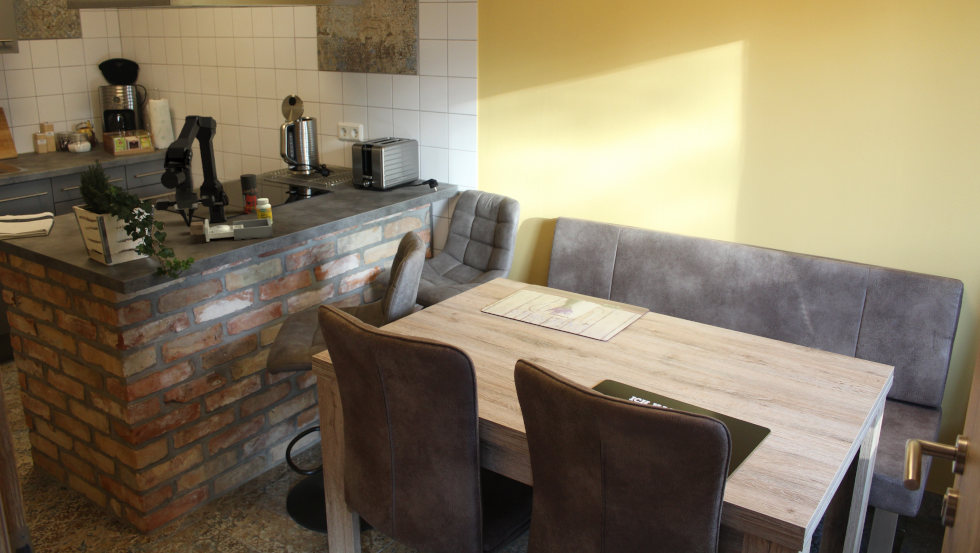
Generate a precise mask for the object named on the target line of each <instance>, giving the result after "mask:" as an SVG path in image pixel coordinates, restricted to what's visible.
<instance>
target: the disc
mask: <svg viewBox="0 0 980 553" xmlns="http://www.w3.org/2000/svg"><path fill="white" fill-rule="evenodd" d="M229 226H230V225H227V224H220V225H219V224H217V225H213V226H211V229H212V233H220V232H230V228H229Z"/></svg>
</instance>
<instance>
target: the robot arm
mask: <svg viewBox="0 0 980 553" xmlns="http://www.w3.org/2000/svg"><path fill="white" fill-rule="evenodd" d="M217 125H218V124H217V121H216V119H214V118H213V117H212V116H201V115H199V114H196V115H195V114H194V115H193V114H192V115H191V114H190V115H186V116H185V118H184V124H183V126H182V128H181V130H180V132H179V134H178V137H177V138H176V140H174V141H172V142H171V143H170V144H168V145H169V146H168V147H167V148H166V150H165V154H164V161H163V169H164V170H165V172H164V173H162V174H161V175H160V176H161V177H160V183H161V185H162V186H163V187H164V188H165V189H168V190H173V189H174V192H175V195H174V198H175V200H170V199H169V197H167V198H158V199H156V200H155V210H156V211H167V210H168V209H169V207H170V208H171V207H174V211H175V212H178V213H179V214H180V215H181V217H182V219H183V221H184V222H185V224H186V226H187V228H190V226H191V222H192V220H193V215H194V213H195V211H197V210H199V205H202V206H203V207H205V208H208V215H209V218H208V222H209V224H211V223H212V224H214V223H225V222H228V219H227V216H226V211H225V207H226V206H229V205H230V199H229V195H227V193H226V192H225V190H224V185H223V184H222V183H221V181H220V180H219V179H218V174H217V167H216V159H215V151H214V142H213V140H214V138H215V135H216V134H217ZM195 139H196V140H197V141H198V145H199V146H198V147H199V153H200V154H199V155H200V160H201V170H202V175H203V181H202V183H201V184H200V185H199V197H200V198H199V197H198V192H194V187H193V180H192V173H191V168H192V160H193V156H194V155H193V154H194V153H193V150H192V146H193V143H194V142H195ZM186 209H188V210H186ZM187 211H188V214H187Z"/></svg>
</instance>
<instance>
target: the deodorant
mask: <svg viewBox="0 0 980 553" xmlns="http://www.w3.org/2000/svg"><path fill="white" fill-rule="evenodd" d="M240 185H241V186H240V187H241V194H242V195H241V196H242V205H243V213H244V212H245V213H248V214H247V215H253V214H254V213H255V214H257V210H256V206H257V205H258V203H257V199H259V195H258V194H259V193H258V192H259V191H258V183H257V175H256V174H254V173H247V174H246V173H244V174H241V175H240ZM245 213H244V214H245Z"/></svg>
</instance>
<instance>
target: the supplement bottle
mask: <svg viewBox="0 0 980 553" xmlns="http://www.w3.org/2000/svg"><path fill="white" fill-rule="evenodd" d="M257 203H258V205H257V206H256V210H257V213H256V217H257V219H268V218H270V221H271V224H272V225H273V223H274V222H273V214H272V212H273V211H272V205H271V204H270V203H269V198H266V197H264V198H263V197H262V198H258V199H257Z"/></svg>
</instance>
